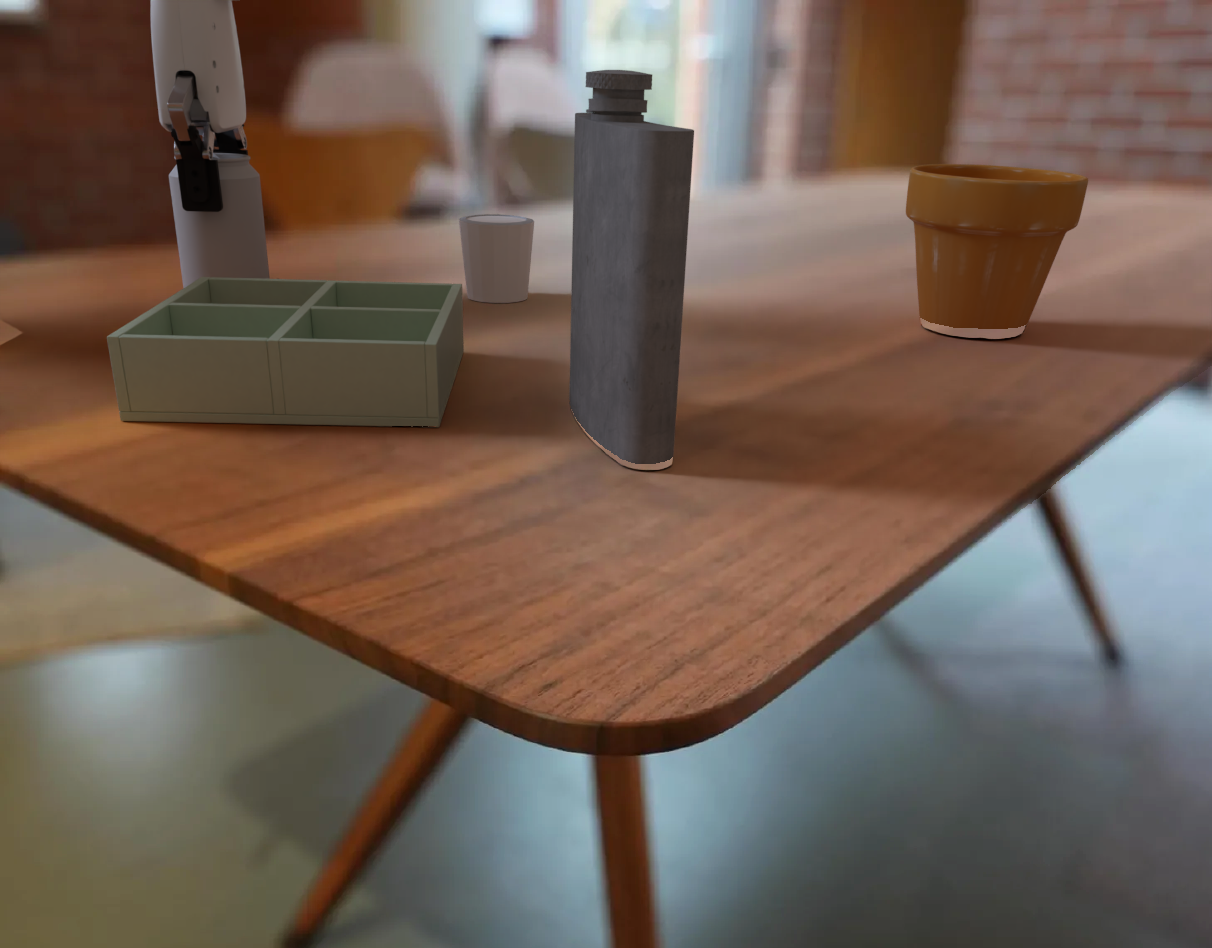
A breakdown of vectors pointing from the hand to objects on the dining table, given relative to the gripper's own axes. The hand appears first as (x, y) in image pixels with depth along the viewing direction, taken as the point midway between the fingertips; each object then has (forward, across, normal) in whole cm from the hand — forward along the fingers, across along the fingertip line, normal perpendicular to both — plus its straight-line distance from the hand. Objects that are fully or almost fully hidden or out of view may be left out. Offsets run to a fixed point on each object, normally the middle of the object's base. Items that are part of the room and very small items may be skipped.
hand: (219, 203), depth 97 cm
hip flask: (+8, +37, +33) cm, 50 cm away
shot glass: (+8, -3, +24) cm, 25 cm away
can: (+8, 0, 0) cm, 8 cm away
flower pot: (+8, +6, +66) cm, 67 cm away
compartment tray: (+8, +28, +13) cm, 32 cm away
